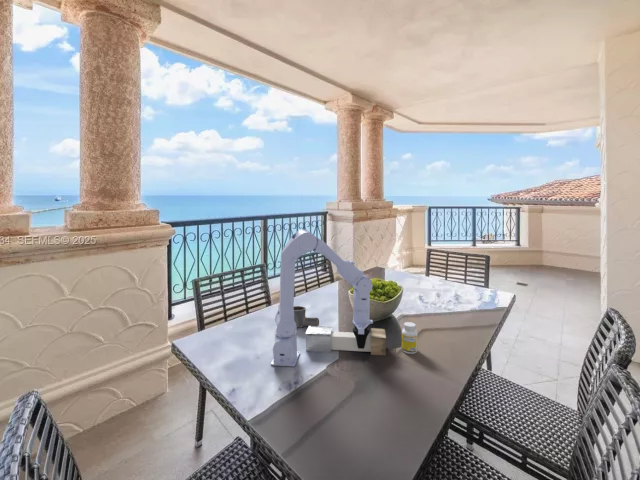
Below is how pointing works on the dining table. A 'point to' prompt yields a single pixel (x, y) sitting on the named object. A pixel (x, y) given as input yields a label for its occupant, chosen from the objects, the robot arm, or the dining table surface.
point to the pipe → (303, 318)
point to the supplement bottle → (409, 338)
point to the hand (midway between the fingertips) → (361, 345)
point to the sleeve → (318, 339)
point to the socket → (378, 342)
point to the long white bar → (348, 342)
